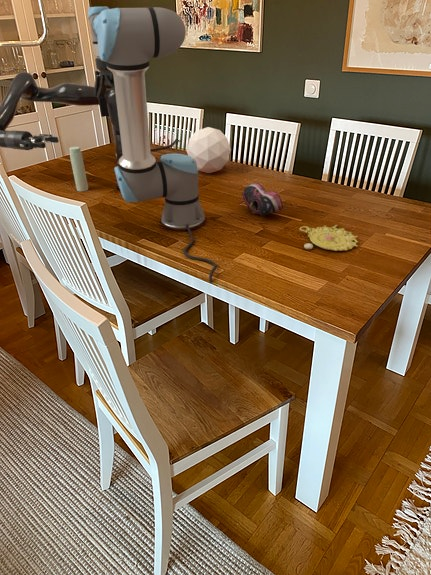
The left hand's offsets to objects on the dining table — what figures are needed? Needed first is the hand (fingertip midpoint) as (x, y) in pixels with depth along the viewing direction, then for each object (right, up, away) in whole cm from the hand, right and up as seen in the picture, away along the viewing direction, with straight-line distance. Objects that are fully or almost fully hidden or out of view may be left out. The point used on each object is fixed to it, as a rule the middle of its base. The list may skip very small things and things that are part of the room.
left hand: (51, 142), depth 180 cm
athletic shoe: (+82, -31, -18) cm, 90 cm away
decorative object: (+103, -44, -39) cm, 118 cm away
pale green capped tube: (+11, -18, +7) cm, 22 cm away
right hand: (+28, +6, -9) cm, 30 cm away
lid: (+28, -16, +6) cm, 33 cm away
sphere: (+64, -6, +23) cm, 68 cm away
